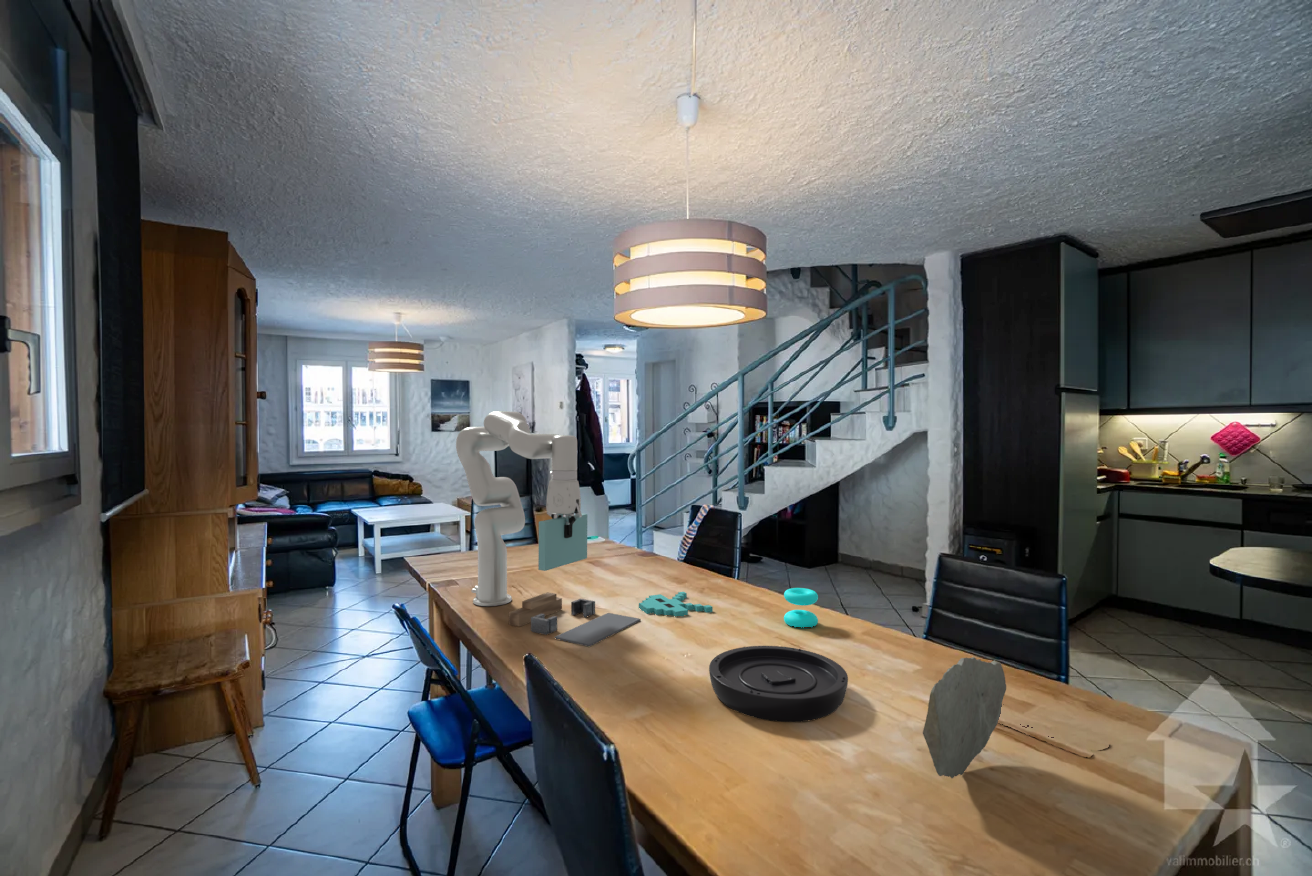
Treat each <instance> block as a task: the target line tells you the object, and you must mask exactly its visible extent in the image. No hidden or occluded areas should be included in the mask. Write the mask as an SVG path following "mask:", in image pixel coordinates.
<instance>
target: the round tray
mask: <svg viewBox="0 0 1312 876" xmlns="http://www.w3.org/2000/svg"><path fill="white" fill-rule="evenodd" d="M708 671H709V673H708V674H709V678H710V683H711V686H712V689H713V691H714V693H715V695H716V697H717V698H718V699H719V700H720V702H722V703H723V704H724V705H725V706H726V707H728V708H729V709H732V710H733V711H735V712H738V713H739V714H742V715H745V716H747V717H751V718H755V719H758V720H759V719H760V720H764V721H770V722H780V723H781V722H782V723H801V721H802V722H808V720H810V721H815V720H819V719H822V718H825V717H828V716H829V715H831V714H833V713H834V712H835V711H836V710H837V709H838V708H840V706H841V705H842V704H843V702H844V700H845V697H846V694H847V690H848V686H849V685H848V684H849V676H848V673H847V671H846V670H845V668H844V667H843V666H842V665H840V664H839V663H838V662H837V661H834V660H833V659H831V658H829V657H827V656H824V655H822V654H820V653H816V652H813V651H809V650H806V649H801V648H797V647H796V648H795V647H788V646H779V645H751V646H743V647H737V648H733V649H729V650H726V651H724V652H721V653H720V654H718V655H716V656H715V657H714V658H712V659H711V661H710V663H709V665H708ZM818 718H819V719H818ZM814 719H815V720H814Z"/></svg>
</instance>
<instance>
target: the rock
mask: <svg viewBox="0 0 1312 876" xmlns="http://www.w3.org/2000/svg"><path fill="white" fill-rule="evenodd" d="M1005 676H1006V675H1005V671H1004V668H1003V665H1002V663H1001V662H1000V661H997V660H993V661H991V662H987V661H984V660H981V659H980V658H979V659H977V658H976V657H975V656H973V657H961V658H960V659H959V660H958V662H957V663H956V664H953V665H952V666H950V667H949V668H948V669H947V670H946V671H945V672H944V673H943V675H942V678H941V679H939V680H938V682H936V683H935V684H934V685H933V686H932V688H931V691H930V693H929V698H928V699H929V700H928V705H927V713H926V718H925V723H924V726H923V730H922V736H923V737H924V740H925V743H926V746H927V748H928V750H929V754H930V757H931V760H932V762H933V766H934V768H935V771H936V773H937V776H939V777H942V776H944V777H950V778H951V779H954V778H955V777H958V776H959V775H960V776H963V775H964V773H965V772H966V770H967V769H968V767H969V765H971V762H973V760H974V759H975V758H976V757H977V755H979V754H981V753H982V751H983V750H984V748H985V747H986V745H987V744H988V741H989V740H990V738H991V735H992V733H993V731H995V729H996V727H997V725H998V720H999V717H1000V714H1001V707H1002V704H1003V700H1004V698H1005V697H1004V696H1005V694H1006V691H1007V684H1006V677H1005ZM964 771H965V772H964Z"/></svg>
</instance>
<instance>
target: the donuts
mask: <svg viewBox="0 0 1312 876" xmlns="http://www.w3.org/2000/svg"><path fill="white" fill-rule="evenodd" d="M783 598H784V599H785V601H786V602H788V603H789V604H792V605H796V606H802V607H803V606H805V607H807V606H811V605H814V604H815V603H816V602H817V601H818V599H819V595H818V593H817V591H815V590H813V589H810V588H804V587H792V588H788V589H786V590H785V591H784V593H783ZM783 621H784V623H785V625H788V626H789V627H792V626H794V627H793V628H796V627H801V628H800V629H805V628H804V627H811V628H814V627H816V626H817V625H818V623H819V617H818V616H817V615H816V614H815V613H814V612H812V611H810V610H805V609H793V610H789V611H787V612H786V613H785V614H784V616H783ZM813 626H814V627H813ZM802 627H803V628H802Z"/></svg>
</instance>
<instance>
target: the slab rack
mask: <svg viewBox="0 0 1312 876" xmlns="http://www.w3.org/2000/svg"><path fill="white" fill-rule="evenodd" d="M570 602H571V603H570V604H571V605H570V606H571V607H570V609H571V610H570V614H571V615H572V616H576V615H579V614H580V613H582V616H584V617H583V618H586V617H587V616H589V615H591V616H594V615H596V601H595V600H591V599H585V598H578V599H575V600H573V601H570ZM578 613H579V614H578ZM571 615H570V616H571ZM589 617H590V616H589ZM587 618H588V617H587ZM556 630H557V631H558V616H556V615H555V616H554V615H553V616H550V617H548V618H546V616H545V614H539V615H536V616H535V617H531V622H530V632H531V631H532V632H531V633H536V634H540V633H541V635H546V636H547V634H548V635H550V634H551V633H552V634H553V633H555V632H556ZM554 631H555V632H554Z"/></svg>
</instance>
